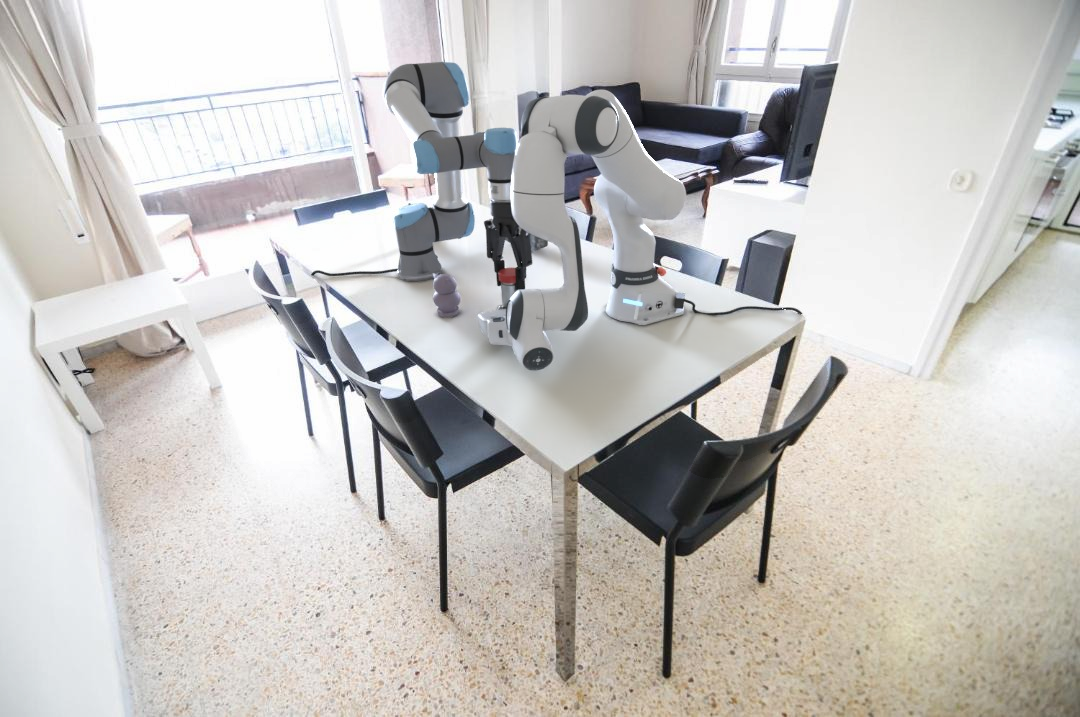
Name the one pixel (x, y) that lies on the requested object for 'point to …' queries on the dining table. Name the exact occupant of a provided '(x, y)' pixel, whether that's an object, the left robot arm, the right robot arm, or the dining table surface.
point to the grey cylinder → (507, 292)
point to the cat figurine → (446, 295)
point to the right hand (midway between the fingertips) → (511, 305)
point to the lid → (507, 275)
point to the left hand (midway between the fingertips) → (511, 287)
